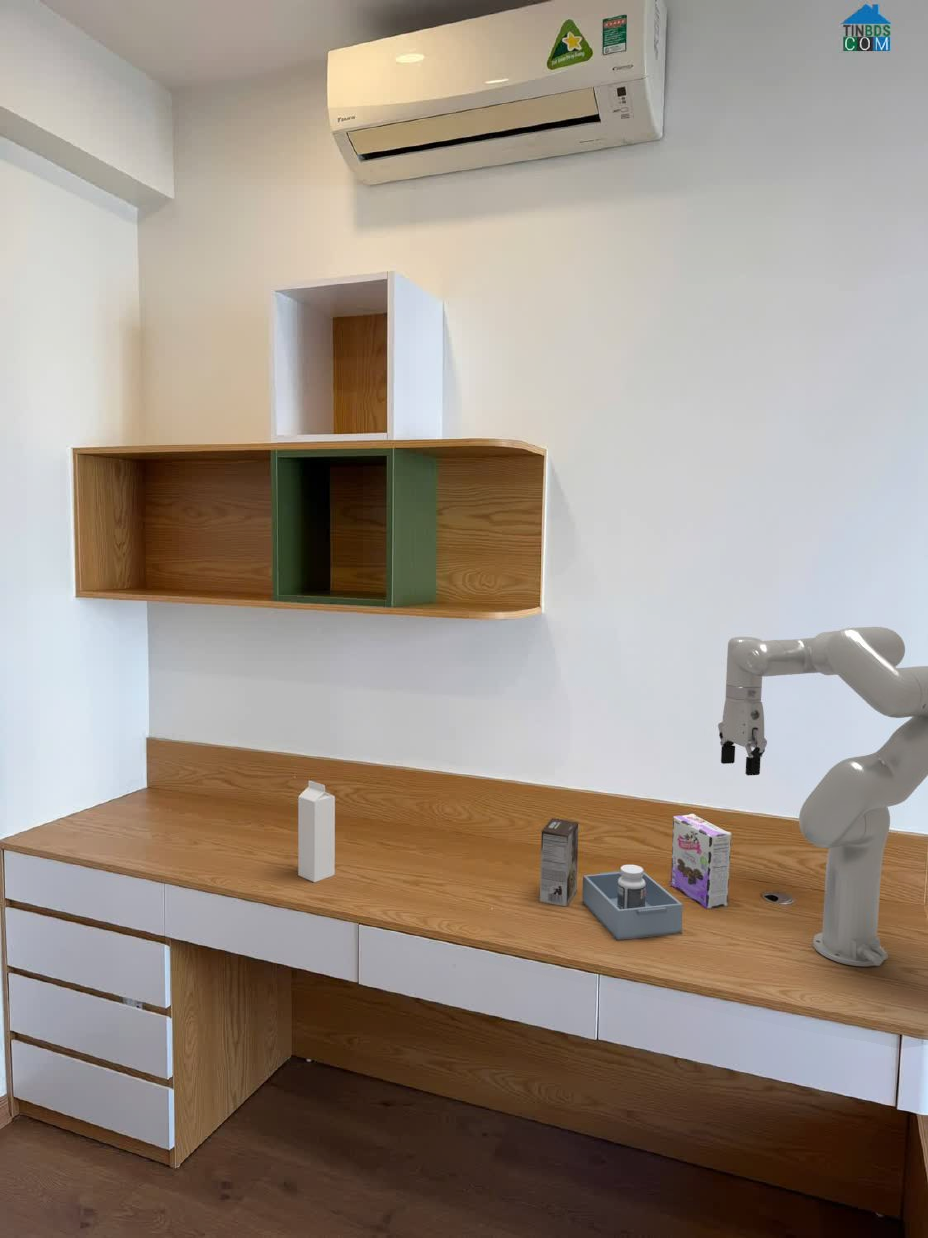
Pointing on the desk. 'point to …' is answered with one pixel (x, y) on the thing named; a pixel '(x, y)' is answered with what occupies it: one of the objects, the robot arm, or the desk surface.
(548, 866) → the coffee box
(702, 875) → the candy box
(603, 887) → the tote
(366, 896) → the desk surface
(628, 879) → the pill bottle
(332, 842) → the milk
